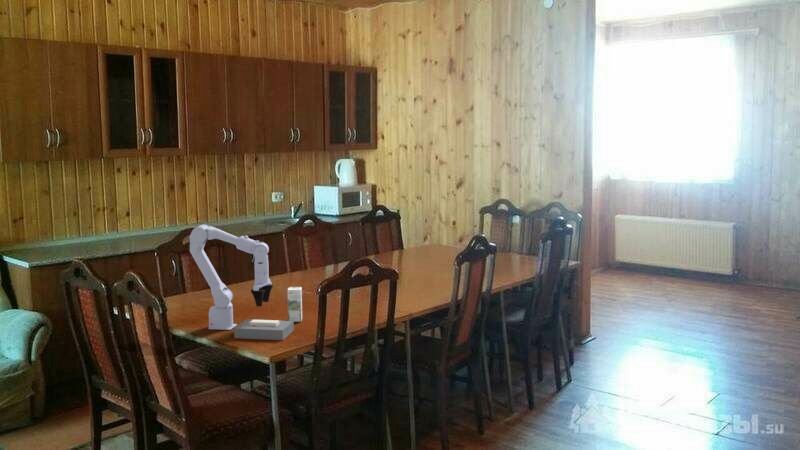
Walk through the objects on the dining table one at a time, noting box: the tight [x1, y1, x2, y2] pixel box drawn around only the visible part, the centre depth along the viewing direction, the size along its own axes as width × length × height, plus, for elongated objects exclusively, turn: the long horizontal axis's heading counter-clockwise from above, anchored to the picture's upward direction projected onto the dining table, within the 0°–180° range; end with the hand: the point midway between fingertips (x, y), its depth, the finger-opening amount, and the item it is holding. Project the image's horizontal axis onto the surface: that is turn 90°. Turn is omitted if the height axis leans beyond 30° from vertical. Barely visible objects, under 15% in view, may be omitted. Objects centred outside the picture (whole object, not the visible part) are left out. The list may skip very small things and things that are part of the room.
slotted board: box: [233, 318, 295, 341], centre depth 293 cm, size 20×14×4 cm
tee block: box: [250, 318, 279, 327], centre depth 293 cm, size 11×4×5 cm, turn 82°
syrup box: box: [286, 286, 303, 323], centre depth 313 cm, size 6×6×14 cm
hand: (262, 304), depth 302 cm, fingers open, 7 cm apart
